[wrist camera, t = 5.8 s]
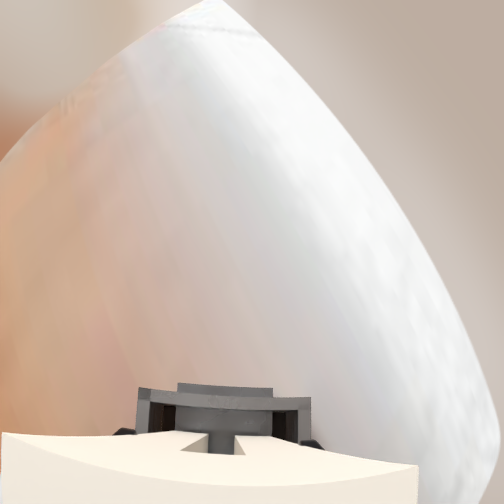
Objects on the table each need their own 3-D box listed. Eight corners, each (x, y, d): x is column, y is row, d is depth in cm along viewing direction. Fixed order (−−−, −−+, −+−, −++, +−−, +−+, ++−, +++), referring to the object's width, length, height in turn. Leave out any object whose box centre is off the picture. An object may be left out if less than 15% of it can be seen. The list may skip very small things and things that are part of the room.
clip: (267, 493, 12) (387, 648, 1) (172, 487, 11) (28, 618, 1) (269, 436, 13) (418, 465, 2) (174, 430, 13) (1, 432, 2)
